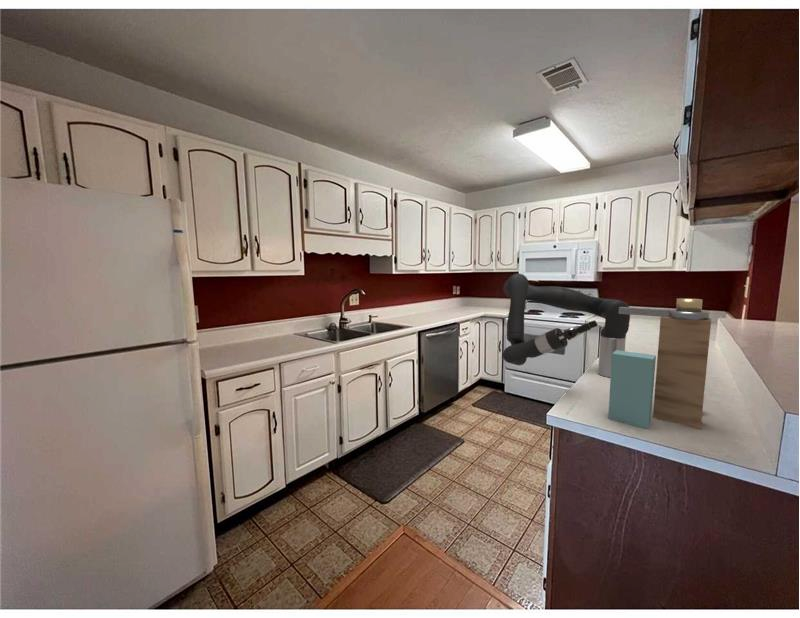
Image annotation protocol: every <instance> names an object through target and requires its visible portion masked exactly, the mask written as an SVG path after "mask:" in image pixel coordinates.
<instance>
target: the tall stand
mask: <svg viewBox="0 0 800 618" xmlns="http://www.w3.org/2000/svg"><path fill="white" fill-rule="evenodd" d="M659 320H660V322H659V334H658V345H657V346H658V347H657V356H656V369H655V382H654V394H653V407H652V419H657V420H662V421H665V422H670V423H674V424H678V425H681V426H685V427H690V428H694V429H698V430H701V428H702V418H703V409H704V404H703V400H704V392H705V388H706V387H705V386H706V379H707V376H706V375H707V367H708V356H709V346H710V338H711V337H710V336H711V325H712V317H709V320H685V319H675V318H670V317H660V319H659ZM704 401H705V400H704Z"/></svg>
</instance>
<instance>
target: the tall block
mask: <svg viewBox="0 0 800 618" xmlns="http://www.w3.org/2000/svg"><path fill="white" fill-rule="evenodd" d="M656 363H657V355H656V354H648V353H640V352H634V351H627V350H625V351H620V350H616V351H614V352H613V353H612V364H611V378H610V380H609V381H610V382H609V383H610V384H609V398H608V399H609V400H608V416H607V418H608V419H609V420H613V421H617V422H620V423H624V424H628V425H632V426H635V427H639V428H644V429H646V430H649V427H650V426H651V423H652V414H653V401H654V389H655V376H656Z"/></svg>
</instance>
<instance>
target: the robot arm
mask: <svg viewBox="0 0 800 618" xmlns="http://www.w3.org/2000/svg"><path fill="white" fill-rule="evenodd" d="M502 289H503V292H504V294H505V295H506V296H507V297H509V298H510V303H509V304H510V305H509V310H508V316H507V321H506V339H507V341H508V342H509V343H510V344H511V345H509V346H507V347H506V348H504V349H503V351H502V358H503V360H504V361H505V362H506V363H508V364H511V365H516V366H522V365H524V364H525V363H526V362H527V359H529V358H532V359H534V358H537V357H540V356H543V355H545V354H549V353H552V352H555V351H557V350H562V349H564V348H565V347H567V346H568V341H570V340H573V339H575V338H576V337H578V336H580V335H582V334H583V333H584V332H588V331H590V330H592V329H594V328H595V327H597V326H598V323H597V321H596V320H592V321H589V322H587V323H583V324H581V325H575V326H572V327H569V328H566V329H564V330H562V329H560V328H557V327H556V328H554V329H551V330H549V331H547V332H544V333H542V334H540V335H538V336H536V337H534V338H531V339H529V340H527V341H525V311H526V302H527V301H530V302H534V303H538V304H542V305H546V306H550V307H554V308H557V309H561V310H566V311H572V312H583V313H589V314H592V315H595V316H597V317H600V318H602V319H605V321H604V326H603V328H601V330H600V333H599V335H600V337H599V352H598V353H599V355H598V371H597V373H598V375H600V376H602V377H606V378H610V379H611V364H612V353H613V352H614V351H616V350H620V351H626V339H627V333H628V332H629V328H630V322H631V321H630V320H631V315H630V314H618V313H619V307H630V305H629V304H628V303H627V302H625V301H624V300H623V301H622V300H620V299H613V298H604V297H602V298H601V297H598V296H597V297H596V296H590V295H588V294H586V293H583V292H580V291H578V290H575V289H572V288H568V287H564V286H559V285H558V286H557V285H555V286H552V285H549V286H548V285H546V286H538V285H537V286H536V285H531V284H529V279H528V278H527V276H526V275H524V274H522V273H514V274H512V275H511V276H510V277H508V279H507V280H506V281H505V283H504V285H503V288H502Z"/></svg>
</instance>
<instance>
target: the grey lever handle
mask: <svg viewBox="0 0 800 618" xmlns="http://www.w3.org/2000/svg"><path fill="white" fill-rule="evenodd" d="M675 305H676V307H675V308H674V309H673V308H672V309H667V308H664V309H663V308H648V307H647V308H646V307H633V306H632V307H630V306H629V307H619V313H618V314H630V316H631V315H632V316H646V317H648V316H649V317H660V318H661V317H670V318H675V319H685V320H709V318H710V315H711V314H710V311H708V310H703V299H700V298H686V297H685V298H676V303H675Z"/></svg>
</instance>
